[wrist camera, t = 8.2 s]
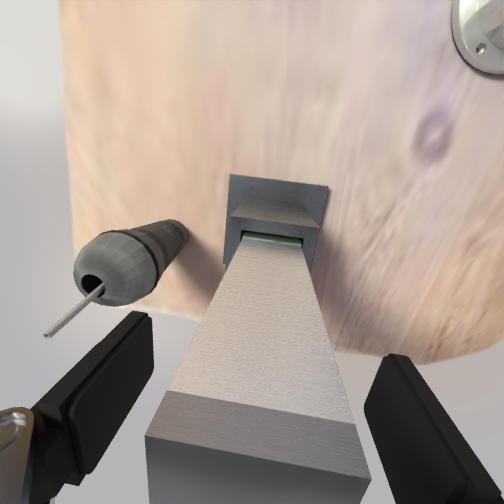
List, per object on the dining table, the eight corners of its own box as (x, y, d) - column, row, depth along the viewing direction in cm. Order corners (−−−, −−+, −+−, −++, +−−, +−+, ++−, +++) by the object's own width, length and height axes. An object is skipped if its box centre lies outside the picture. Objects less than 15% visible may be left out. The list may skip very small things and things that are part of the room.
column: (295, 224, 23) (375, 478, 4) (287, 265, 25) (321, 583, 6) (251, 218, 24) (142, 433, 5) (246, 259, 25) (150, 545, 6)
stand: (326, 185, 29) (362, 199, 17) (307, 272, 33) (324, 333, 21) (231, 174, 30) (199, 178, 17) (224, 260, 34) (195, 312, 22)
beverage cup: (192, 207, 32) (70, 264, 13) (201, 257, 34) (109, 366, 15) (142, 211, 33) (-39, 270, 14) (154, 259, 35) (14, 365, 16)
